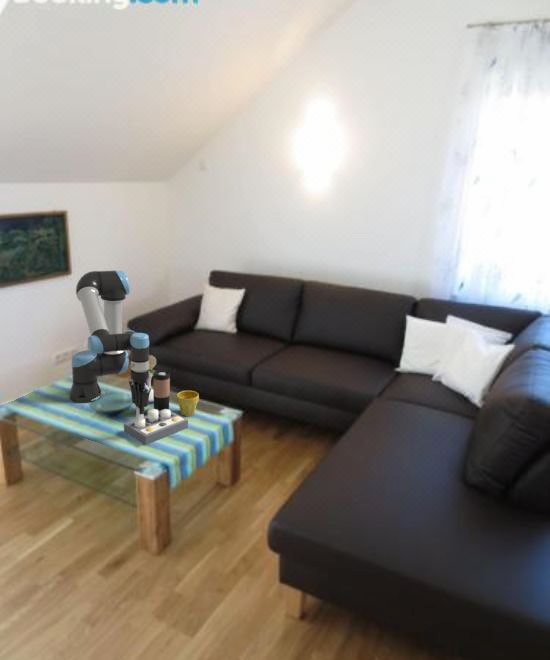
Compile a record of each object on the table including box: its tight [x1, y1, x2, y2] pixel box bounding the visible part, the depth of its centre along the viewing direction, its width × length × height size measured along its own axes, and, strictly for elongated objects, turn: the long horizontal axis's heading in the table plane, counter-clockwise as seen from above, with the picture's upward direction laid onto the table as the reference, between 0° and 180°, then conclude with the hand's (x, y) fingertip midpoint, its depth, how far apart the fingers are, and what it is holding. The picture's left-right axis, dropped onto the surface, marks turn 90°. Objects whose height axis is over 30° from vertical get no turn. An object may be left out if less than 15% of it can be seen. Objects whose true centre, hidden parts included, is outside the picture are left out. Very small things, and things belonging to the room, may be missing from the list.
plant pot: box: [176, 390, 200, 417], centre depth 240 cm, size 10×10×10 cm
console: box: [123, 411, 189, 446], centre depth 222 cm, size 16×23×4 cm
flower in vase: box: [147, 354, 157, 403], centre depth 248 cm, size 13×11×25 cm
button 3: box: [160, 409, 172, 419], centre depth 228 cm, size 5×5×5 cm
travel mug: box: [153, 369, 171, 411], centre depth 238 cm, size 8×8×20 cm
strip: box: [140, 415, 186, 434], centre depth 219 cm, size 4×21×1 cm, turn 140°
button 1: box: [134, 418, 145, 429], centre depth 218 cm, size 5×5×5 cm
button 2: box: [147, 408, 158, 424], centre depth 222 cm, size 5×5×5 cm
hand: (140, 419), depth 217 cm, fingers closed
